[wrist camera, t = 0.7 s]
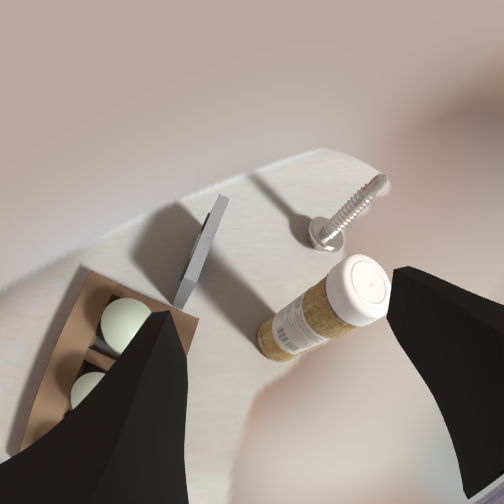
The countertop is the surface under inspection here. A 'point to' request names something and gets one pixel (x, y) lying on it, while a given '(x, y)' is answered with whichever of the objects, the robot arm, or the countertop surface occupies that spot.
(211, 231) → the card
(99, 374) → the button mid
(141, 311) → the button
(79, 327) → the wooden compartment tray
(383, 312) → the sprinkles bottle
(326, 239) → the screw
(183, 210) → the countertop surface
